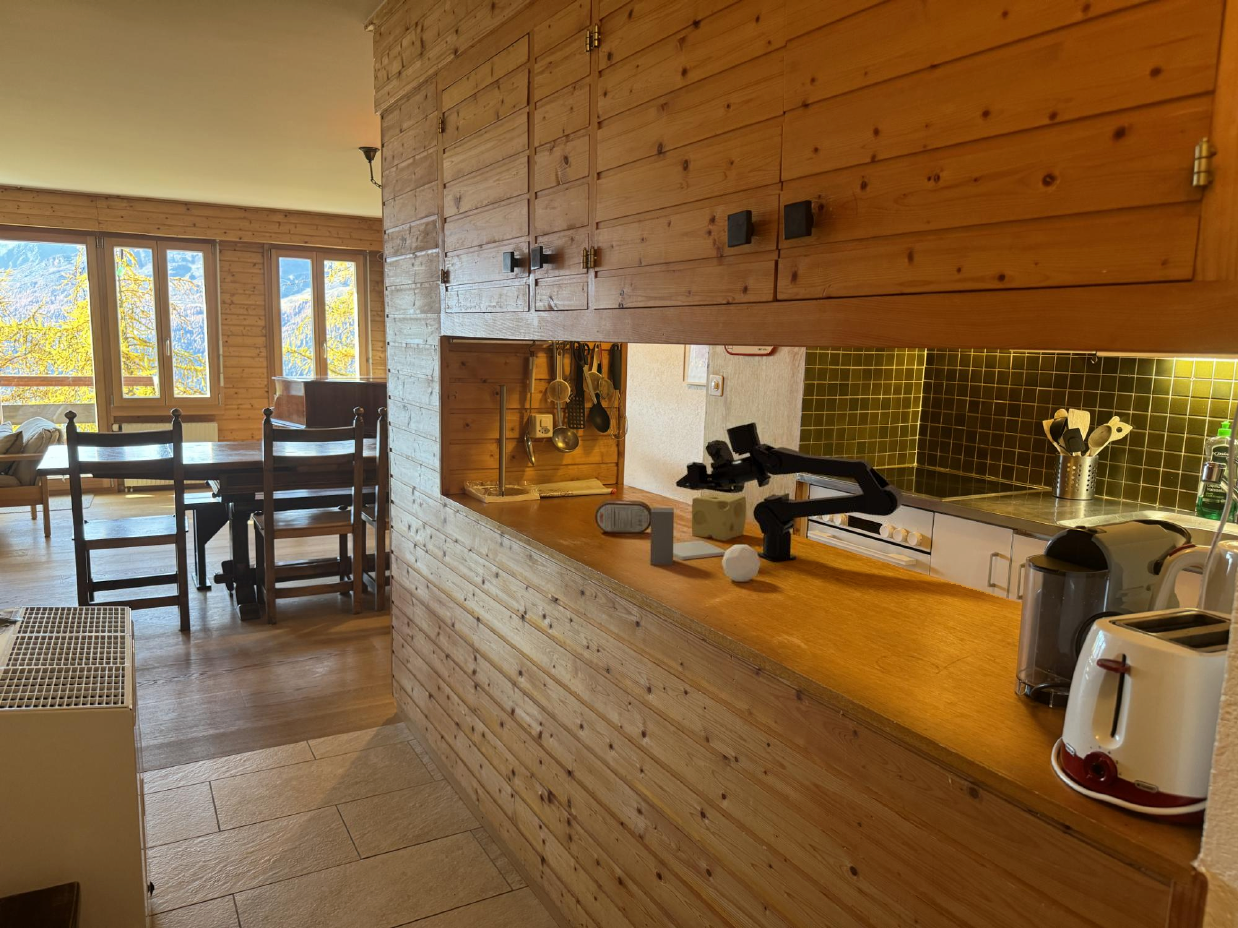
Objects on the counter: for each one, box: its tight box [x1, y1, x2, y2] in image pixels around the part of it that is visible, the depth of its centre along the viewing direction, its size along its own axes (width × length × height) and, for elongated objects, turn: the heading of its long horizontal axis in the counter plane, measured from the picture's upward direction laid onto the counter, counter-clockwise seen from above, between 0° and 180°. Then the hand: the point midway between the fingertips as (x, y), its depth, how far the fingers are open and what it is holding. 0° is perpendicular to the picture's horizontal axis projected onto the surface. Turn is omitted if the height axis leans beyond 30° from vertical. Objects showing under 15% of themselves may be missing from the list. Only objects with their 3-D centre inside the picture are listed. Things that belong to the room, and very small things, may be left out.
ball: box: [721, 544, 761, 583], centre depth 180 cm, size 8×8×8 cm
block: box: [649, 506, 675, 566], centre depth 194 cm, size 5×5×12 cm
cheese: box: [691, 493, 747, 542], centre depth 222 cm, size 10×11×10 cm
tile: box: [673, 540, 726, 561], centre depth 205 cm, size 12×12×1 cm
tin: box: [594, 499, 651, 535], centre depth 225 cm, size 15×3×8 cm, turn 84°
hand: (688, 485), depth 212 cm, fingers open, 9 cm apart
